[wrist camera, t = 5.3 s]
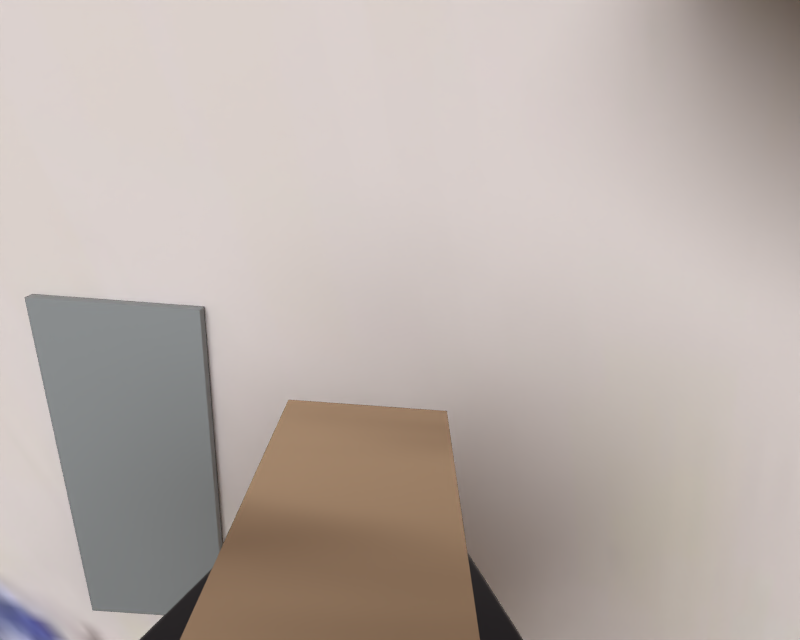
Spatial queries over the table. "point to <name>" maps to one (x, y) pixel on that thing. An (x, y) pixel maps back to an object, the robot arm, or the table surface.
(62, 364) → the mat
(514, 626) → the robot arm
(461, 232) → the table surface
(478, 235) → the table surface
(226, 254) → the table surface
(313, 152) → the table surface
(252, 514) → the brown stepped block
